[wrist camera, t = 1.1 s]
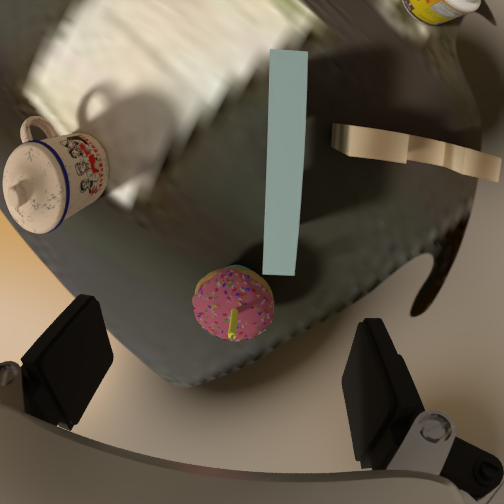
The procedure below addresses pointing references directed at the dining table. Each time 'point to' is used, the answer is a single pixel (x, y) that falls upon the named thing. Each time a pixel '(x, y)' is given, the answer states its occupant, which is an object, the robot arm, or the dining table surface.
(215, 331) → the cupcake
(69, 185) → the teacup with lid
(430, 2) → the supplement bottle
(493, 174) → the birch slotted plate
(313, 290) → the dining table surface
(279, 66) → the teal slotted plate
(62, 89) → the dining table surface
